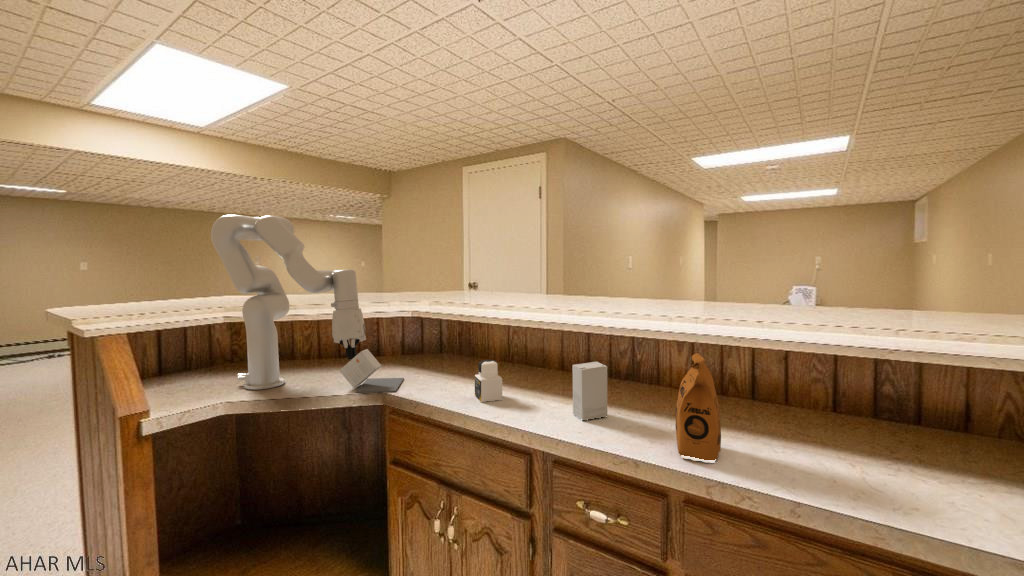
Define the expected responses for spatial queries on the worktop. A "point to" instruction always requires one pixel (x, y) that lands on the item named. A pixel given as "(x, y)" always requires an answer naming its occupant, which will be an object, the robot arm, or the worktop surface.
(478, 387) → the medicine bottle
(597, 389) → the skincare box
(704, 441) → the coffee package
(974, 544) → the worktop surface
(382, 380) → the mat
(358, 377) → the small box
